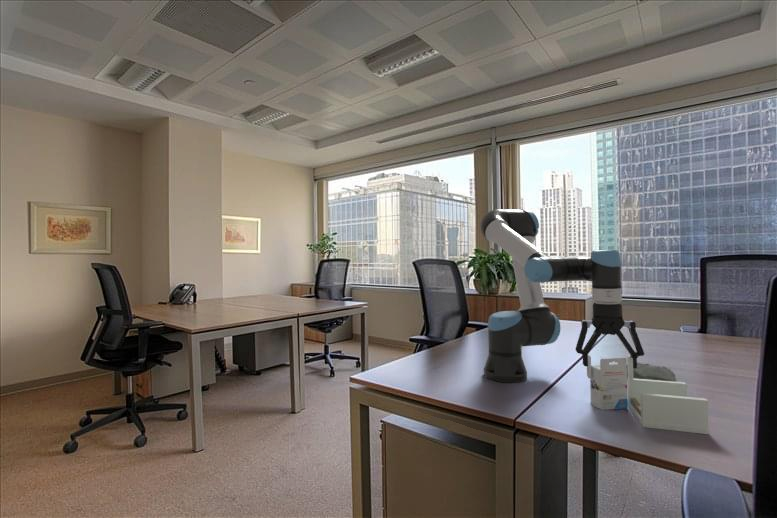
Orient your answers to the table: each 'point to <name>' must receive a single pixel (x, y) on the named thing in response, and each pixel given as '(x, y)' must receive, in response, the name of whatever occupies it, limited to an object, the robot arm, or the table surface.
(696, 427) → the rack
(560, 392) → the table surface
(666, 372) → the stone
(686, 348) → the table surface
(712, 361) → the table surface
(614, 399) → the ink box
